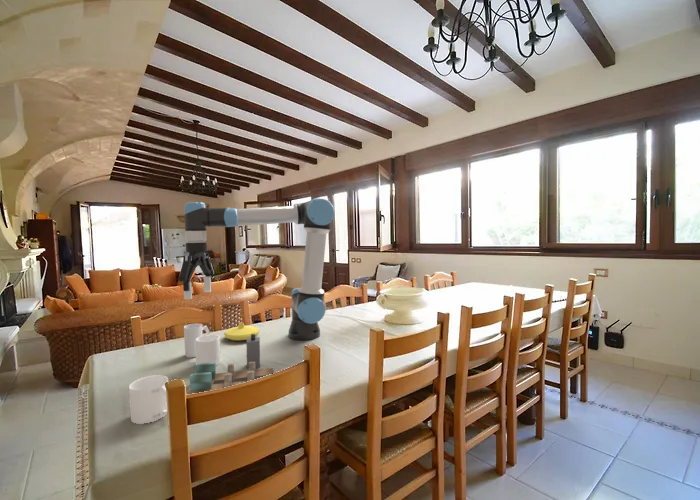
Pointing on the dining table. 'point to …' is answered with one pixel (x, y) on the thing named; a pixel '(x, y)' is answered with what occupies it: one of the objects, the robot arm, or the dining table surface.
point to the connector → (253, 351)
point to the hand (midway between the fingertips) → (198, 295)
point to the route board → (222, 377)
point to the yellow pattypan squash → (241, 332)
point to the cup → (208, 349)
